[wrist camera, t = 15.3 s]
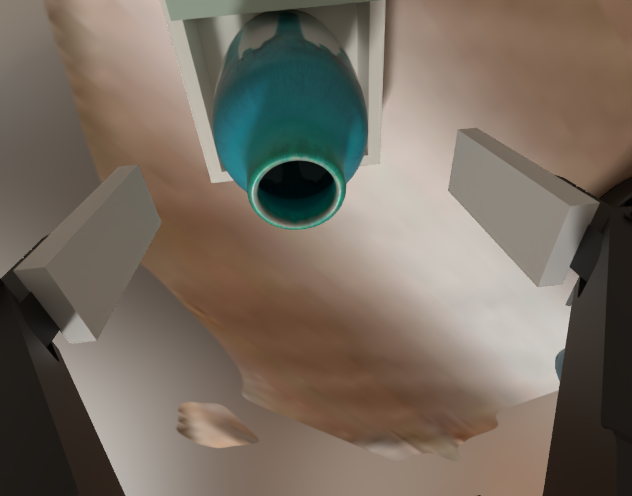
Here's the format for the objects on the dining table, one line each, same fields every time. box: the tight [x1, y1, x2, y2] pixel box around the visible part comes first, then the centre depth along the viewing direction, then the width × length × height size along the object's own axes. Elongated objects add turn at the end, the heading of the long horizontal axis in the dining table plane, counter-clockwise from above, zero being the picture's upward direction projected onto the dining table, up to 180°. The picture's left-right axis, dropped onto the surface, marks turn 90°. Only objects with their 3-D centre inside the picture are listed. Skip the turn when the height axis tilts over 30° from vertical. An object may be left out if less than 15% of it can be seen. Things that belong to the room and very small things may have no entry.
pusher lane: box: [160, 0, 386, 183], centre depth 28 cm, size 22×16×8 cm
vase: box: [212, 9, 369, 230], centre depth 25 cm, size 11×11×19 cm
